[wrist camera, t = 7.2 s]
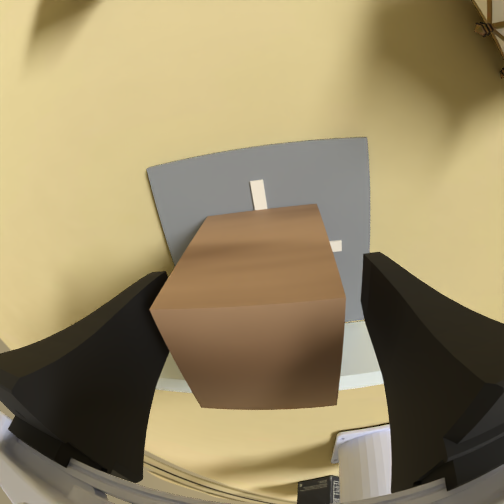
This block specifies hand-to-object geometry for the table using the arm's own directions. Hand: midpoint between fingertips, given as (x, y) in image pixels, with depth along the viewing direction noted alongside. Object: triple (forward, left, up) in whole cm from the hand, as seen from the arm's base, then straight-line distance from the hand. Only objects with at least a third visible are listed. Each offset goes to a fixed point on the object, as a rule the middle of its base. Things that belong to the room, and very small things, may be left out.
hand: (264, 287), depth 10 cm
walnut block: (0, 0, -2) cm, 3 cm away
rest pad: (0, 0, -3) cm, 3 cm away
